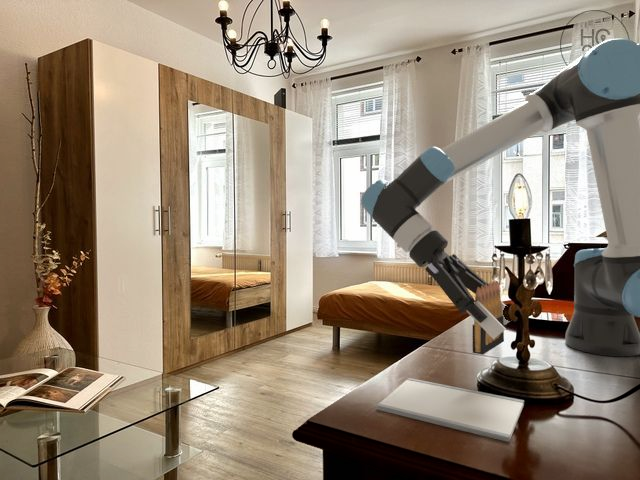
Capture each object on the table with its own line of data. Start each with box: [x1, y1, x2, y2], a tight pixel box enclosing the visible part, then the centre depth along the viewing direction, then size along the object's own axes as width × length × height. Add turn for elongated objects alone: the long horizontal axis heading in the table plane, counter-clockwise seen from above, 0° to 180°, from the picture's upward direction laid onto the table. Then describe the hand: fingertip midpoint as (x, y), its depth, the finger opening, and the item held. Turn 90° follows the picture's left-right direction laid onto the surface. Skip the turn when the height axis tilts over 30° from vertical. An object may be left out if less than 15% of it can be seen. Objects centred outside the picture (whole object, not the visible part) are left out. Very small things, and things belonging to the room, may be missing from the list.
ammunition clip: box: [472, 280, 505, 355], centre depth 81 cm, size 11×2×12 cm, turn 138°
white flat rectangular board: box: [375, 377, 525, 443], centre depth 70 cm, size 20×14×1 cm
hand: (505, 326), depth 79 cm, fingers closed on ammunition clip, 10 cm apart
